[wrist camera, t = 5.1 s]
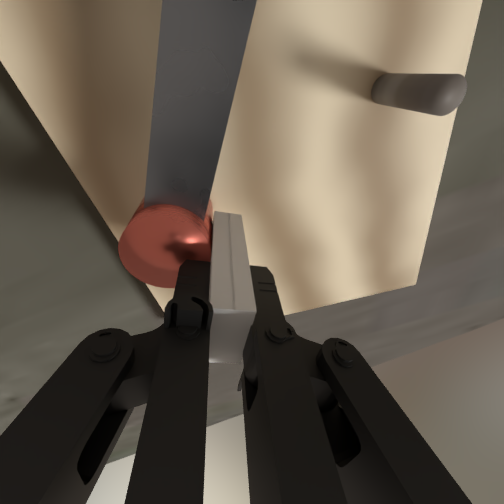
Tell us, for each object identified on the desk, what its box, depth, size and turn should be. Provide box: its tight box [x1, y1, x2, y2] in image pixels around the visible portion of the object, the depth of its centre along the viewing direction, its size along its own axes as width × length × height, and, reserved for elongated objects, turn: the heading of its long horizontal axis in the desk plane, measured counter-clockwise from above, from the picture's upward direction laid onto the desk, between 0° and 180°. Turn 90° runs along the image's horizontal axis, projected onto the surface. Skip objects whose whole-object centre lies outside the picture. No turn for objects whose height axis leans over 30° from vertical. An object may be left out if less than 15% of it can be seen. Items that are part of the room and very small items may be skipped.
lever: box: [118, 0, 257, 288], centre depth 8 cm, size 4×18×4 cm, turn 162°
